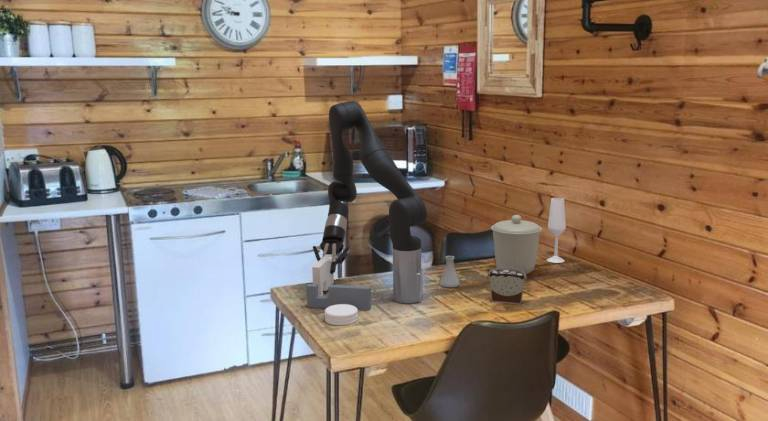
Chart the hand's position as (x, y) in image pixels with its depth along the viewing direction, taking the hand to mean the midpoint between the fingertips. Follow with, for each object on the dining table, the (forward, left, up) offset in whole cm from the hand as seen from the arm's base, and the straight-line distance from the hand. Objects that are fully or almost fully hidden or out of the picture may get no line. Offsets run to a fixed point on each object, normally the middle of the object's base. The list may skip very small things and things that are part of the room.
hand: (327, 272), depth 240 cm
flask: (-41, -10, -6) cm, 42 cm away
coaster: (-12, +29, -6) cm, 32 cm away
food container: (-61, +3, -6) cm, 61 cm away
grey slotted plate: (-9, +18, -5) cm, 21 cm away
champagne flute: (-78, -46, -6) cm, 90 cm away
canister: (-63, -29, -6) cm, 69 cm away
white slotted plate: (0, +4, -4) cm, 6 cm away
